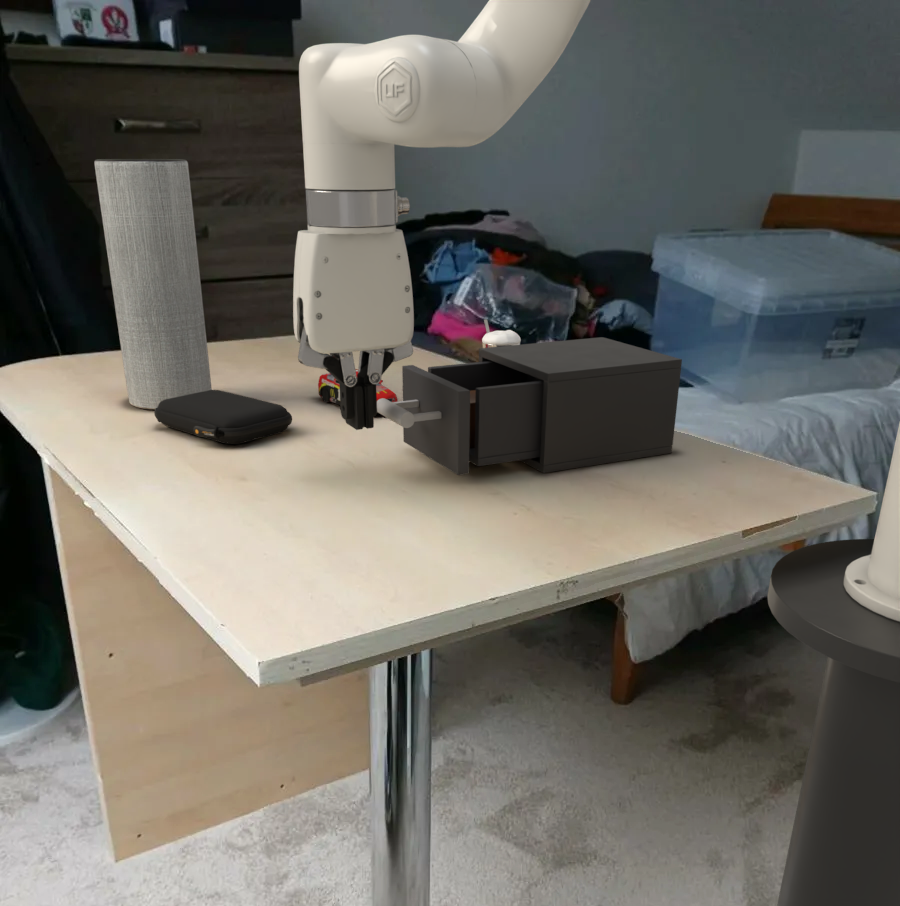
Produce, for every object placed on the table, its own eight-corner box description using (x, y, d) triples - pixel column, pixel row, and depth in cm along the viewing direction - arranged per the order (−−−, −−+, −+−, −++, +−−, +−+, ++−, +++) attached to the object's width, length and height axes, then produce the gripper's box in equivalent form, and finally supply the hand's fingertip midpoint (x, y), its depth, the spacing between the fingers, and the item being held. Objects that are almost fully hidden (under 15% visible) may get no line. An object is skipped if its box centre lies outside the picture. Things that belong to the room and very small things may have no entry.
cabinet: (543, 473, 91) (548, 373, 87) (477, 438, 102) (478, 348, 98) (671, 453, 97) (682, 359, 93) (596, 422, 108) (602, 337, 104)
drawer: (415, 481, 86) (414, 396, 82) (364, 447, 96) (361, 369, 92) (587, 455, 93) (593, 376, 90) (523, 425, 103) (526, 353, 100)
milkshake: (498, 400, 118) (500, 317, 113) (525, 408, 114) (529, 323, 110) (469, 405, 115) (470, 321, 111) (496, 414, 111) (499, 327, 107)
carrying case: (139, 428, 105) (222, 453, 96) (136, 401, 104) (219, 424, 95) (217, 410, 112) (301, 432, 104) (214, 384, 111) (299, 404, 102)
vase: (223, 404, 115) (198, 160, 103) (139, 414, 110) (103, 160, 99) (199, 388, 123) (174, 159, 111) (121, 397, 118) (85, 159, 106)
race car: (405, 414, 111) (404, 380, 110) (365, 420, 109) (364, 386, 107) (351, 391, 121) (350, 360, 119) (313, 397, 118) (311, 365, 117)
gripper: (412, 209, 86) (415, 408, 94) (252, 212, 80) (269, 425, 88) (449, 213, 80) (449, 426, 88) (280, 218, 74) (295, 445, 82)
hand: (359, 425), depth 88 cm, fingers closed
